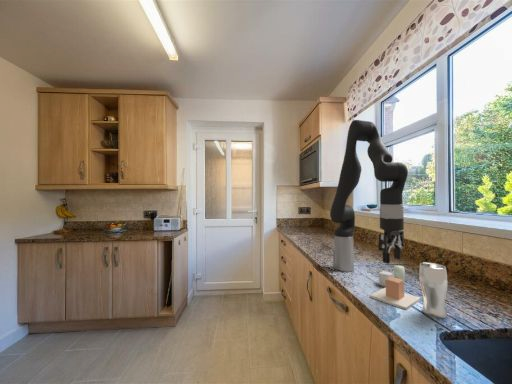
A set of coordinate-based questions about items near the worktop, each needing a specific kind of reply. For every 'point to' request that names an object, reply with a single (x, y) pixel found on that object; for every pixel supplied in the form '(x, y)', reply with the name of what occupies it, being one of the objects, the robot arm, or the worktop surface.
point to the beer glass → (433, 289)
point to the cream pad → (402, 303)
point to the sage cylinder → (399, 272)
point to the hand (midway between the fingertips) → (392, 260)
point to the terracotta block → (394, 288)
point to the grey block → (384, 277)
